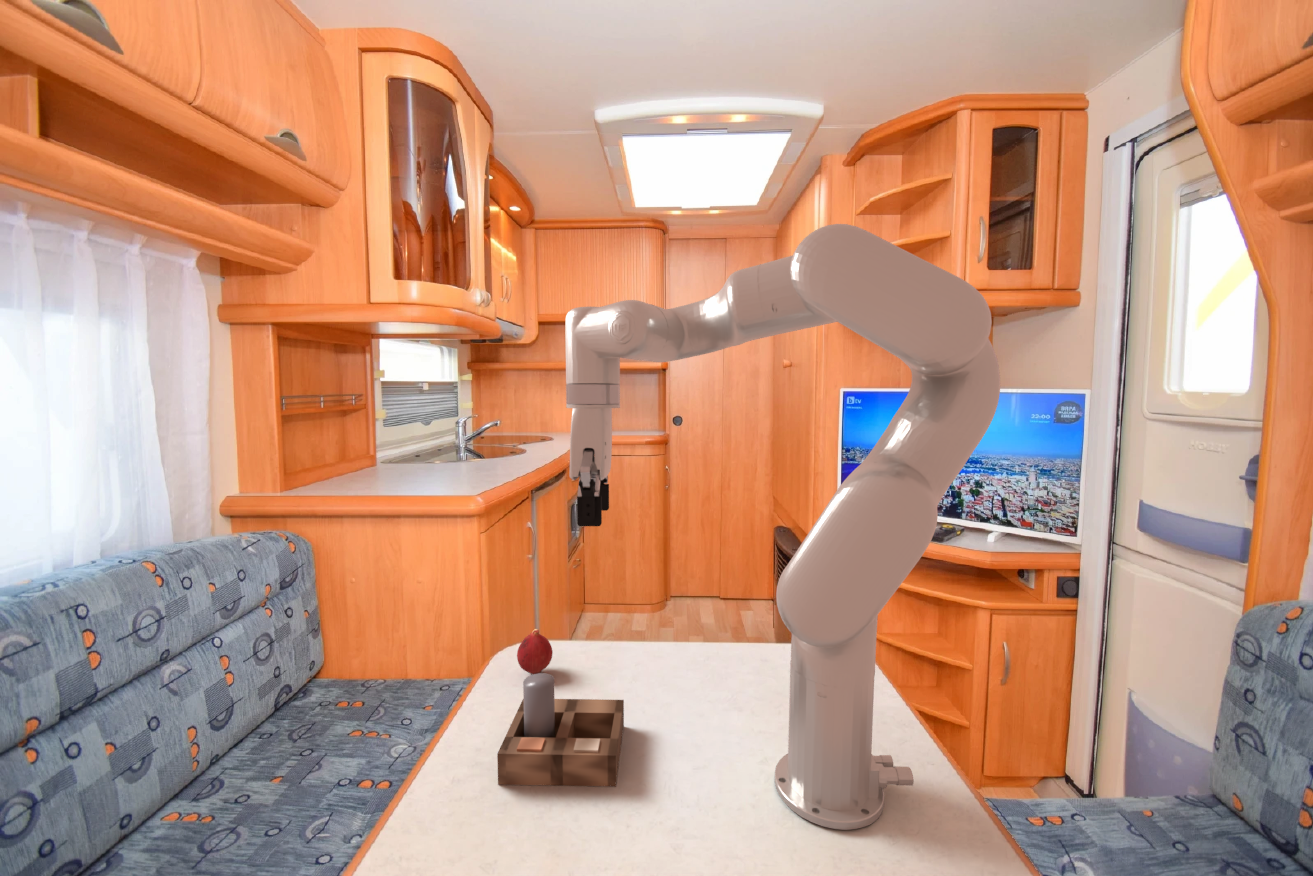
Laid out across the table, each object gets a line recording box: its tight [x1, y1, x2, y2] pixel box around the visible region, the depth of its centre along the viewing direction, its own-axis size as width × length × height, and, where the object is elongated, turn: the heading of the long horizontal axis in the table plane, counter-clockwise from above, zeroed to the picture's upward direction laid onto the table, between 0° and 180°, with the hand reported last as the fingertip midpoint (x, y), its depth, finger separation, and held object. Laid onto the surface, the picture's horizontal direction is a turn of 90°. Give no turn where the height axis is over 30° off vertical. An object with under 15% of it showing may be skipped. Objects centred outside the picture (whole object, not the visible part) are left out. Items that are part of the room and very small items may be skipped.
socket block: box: [496, 697, 625, 788], centre depth 72 cm, size 14×12×4 cm
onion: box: [516, 628, 554, 675], centre depth 92 cm, size 6×6×8 cm
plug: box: [522, 672, 555, 738], centre depth 72 cm, size 4×4×10 cm
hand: (594, 517), depth 78 cm, fingers open, 9 cm apart
